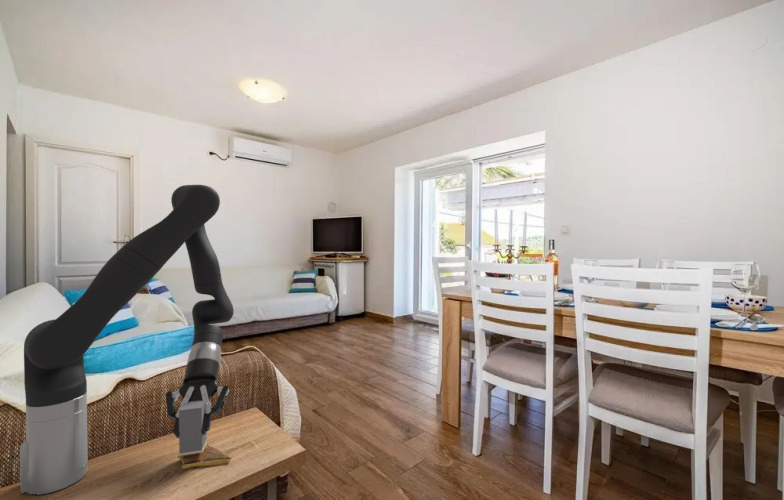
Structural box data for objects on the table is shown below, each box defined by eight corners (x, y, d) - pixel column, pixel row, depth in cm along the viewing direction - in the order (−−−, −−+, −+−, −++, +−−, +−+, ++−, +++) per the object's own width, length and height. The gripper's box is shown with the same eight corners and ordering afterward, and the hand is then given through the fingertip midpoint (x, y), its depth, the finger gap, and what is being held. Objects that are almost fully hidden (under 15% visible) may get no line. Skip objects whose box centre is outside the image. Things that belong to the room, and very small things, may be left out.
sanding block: (179, 455, 77) (178, 410, 77) (185, 444, 82) (184, 402, 82) (202, 452, 79) (201, 407, 79) (207, 441, 83) (206, 399, 83)
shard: (231, 464, 79) (231, 456, 79) (196, 483, 72) (196, 474, 72) (207, 449, 85) (207, 441, 85) (172, 465, 79) (172, 457, 79)
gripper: (168, 359, 85) (149, 434, 74) (232, 354, 89) (223, 424, 78) (175, 374, 91) (158, 446, 79) (235, 368, 94) (228, 436, 83)
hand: (191, 434), depth 78 cm, fingers closed on sanding block, 4 cm apart
